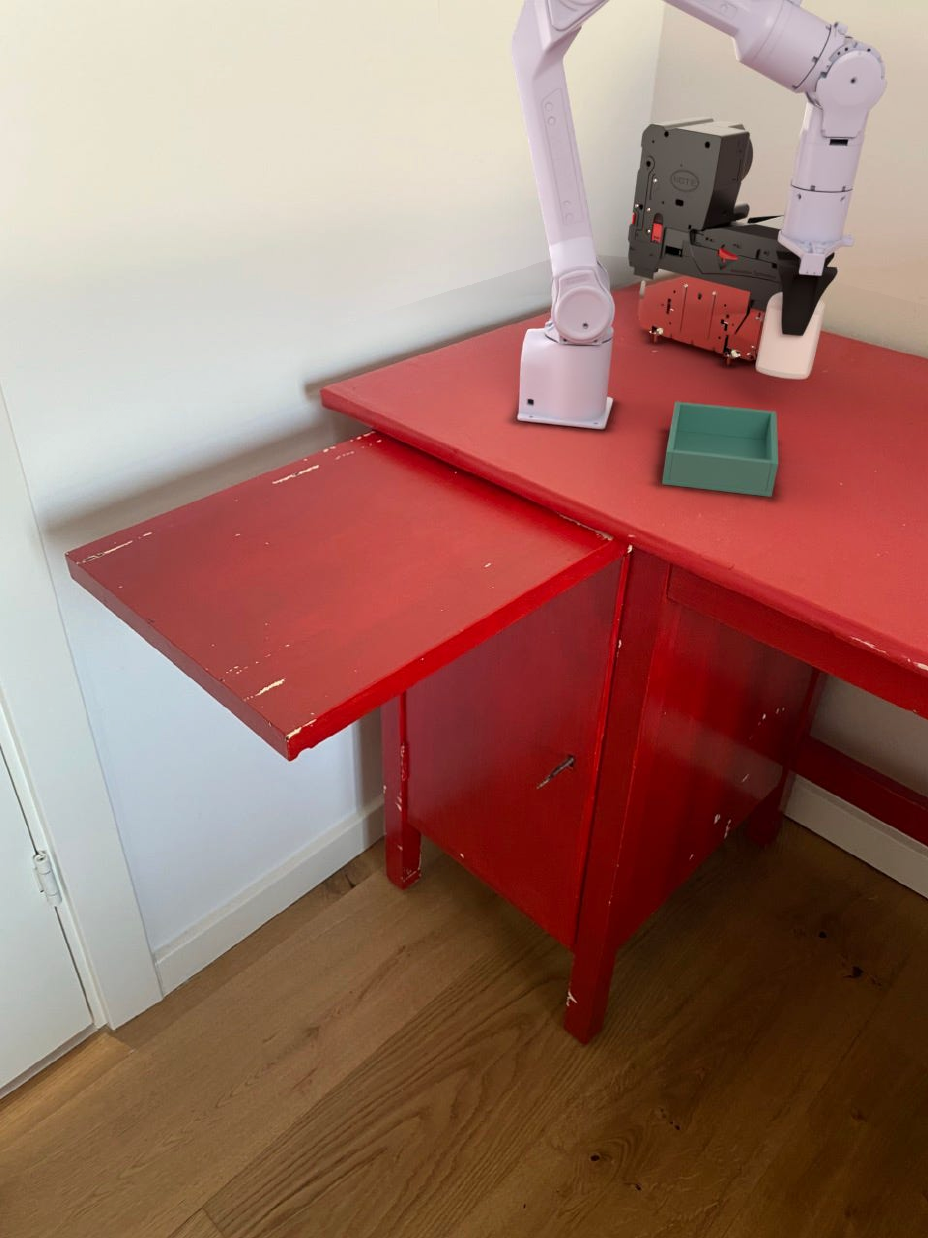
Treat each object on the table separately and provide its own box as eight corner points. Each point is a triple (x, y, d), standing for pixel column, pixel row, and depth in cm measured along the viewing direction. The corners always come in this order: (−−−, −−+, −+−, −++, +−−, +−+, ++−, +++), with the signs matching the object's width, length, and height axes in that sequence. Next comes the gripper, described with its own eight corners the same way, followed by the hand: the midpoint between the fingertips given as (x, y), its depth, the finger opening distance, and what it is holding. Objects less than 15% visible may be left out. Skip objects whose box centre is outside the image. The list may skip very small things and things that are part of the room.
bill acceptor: (768, 379, 115) (813, 148, 101) (615, 331, 129) (636, 121, 114) (813, 357, 121) (862, 136, 107) (663, 314, 135) (688, 112, 120)
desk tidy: (661, 484, 93) (666, 451, 91) (671, 432, 103) (675, 401, 101) (771, 497, 91) (778, 463, 89) (770, 442, 101) (776, 411, 99)
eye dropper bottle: (789, 385, 100) (815, 266, 93) (748, 369, 104) (769, 253, 97) (817, 377, 102) (844, 259, 95) (775, 360, 106) (798, 246, 99)
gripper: (872, 205, 86) (837, 355, 94) (858, 173, 97) (828, 308, 105) (790, 200, 87) (761, 348, 95) (786, 169, 99) (761, 303, 107)
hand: (791, 327), depth 100 cm, fingers closed on eye dropper bottle, 3 cm apart
